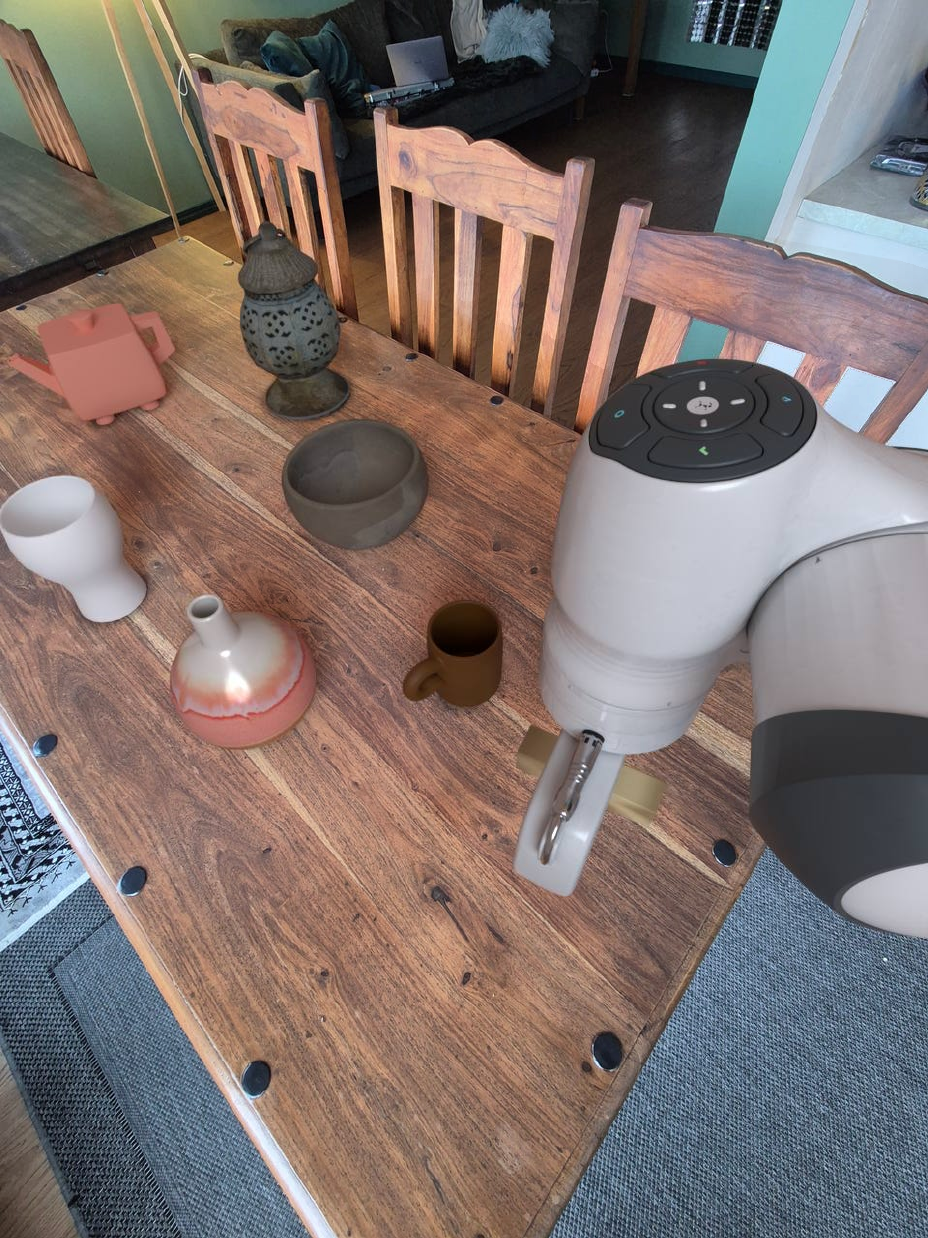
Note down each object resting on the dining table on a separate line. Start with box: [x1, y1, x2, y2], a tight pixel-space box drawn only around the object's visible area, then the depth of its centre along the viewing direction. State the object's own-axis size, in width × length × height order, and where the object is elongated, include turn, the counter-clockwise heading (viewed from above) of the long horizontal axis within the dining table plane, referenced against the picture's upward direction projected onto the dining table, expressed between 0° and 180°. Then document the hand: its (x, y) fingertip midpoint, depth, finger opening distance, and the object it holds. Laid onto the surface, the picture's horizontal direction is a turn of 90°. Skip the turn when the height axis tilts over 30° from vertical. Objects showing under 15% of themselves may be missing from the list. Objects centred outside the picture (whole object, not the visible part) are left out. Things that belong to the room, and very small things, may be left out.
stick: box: [515, 724, 667, 828], centre depth 45 cm, size 10×2×3 cm, turn 63°
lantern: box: [237, 220, 351, 422], centre depth 92 cm, size 14×14×25 cm
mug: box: [401, 599, 504, 708], centre depth 65 cm, size 12×8×9 cm, turn 136°
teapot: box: [5, 302, 176, 426], centre depth 96 cm, size 22×13×14 cm, turn 121°
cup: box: [0, 474, 147, 623], centre depth 71 cm, size 11×11×15 cm
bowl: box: [281, 418, 430, 551], centre depth 81 cm, size 17×18×10 cm
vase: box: [169, 593, 318, 751], centre depth 61 cm, size 14×14×18 cm
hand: (589, 772), depth 45 cm, fingers closed on stick, 2 cm apart
